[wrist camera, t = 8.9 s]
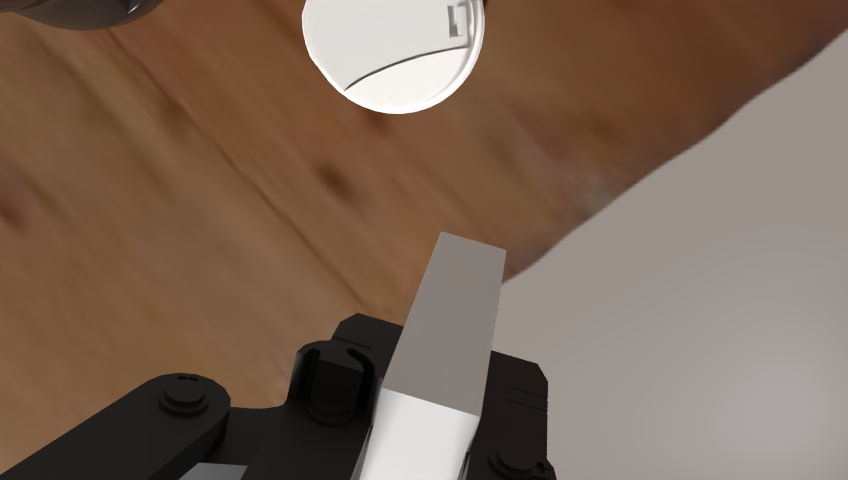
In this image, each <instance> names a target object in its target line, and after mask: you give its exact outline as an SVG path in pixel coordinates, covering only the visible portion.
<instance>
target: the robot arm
mask: <svg viewBox="0 0 848 480" xmlns="http://www.w3.org/2000/svg"><path fill="white" fill-rule="evenodd" d="M162 1H163V0H0V13H3V12H10V11H11V12H14V13H17V14H19V15H22V16H25V17H27V18H30V19H33V20H35V21H38V22H40V23H43V24H46V25H49V26H53V27H57V28H62V29H69V30H97V29H103V28H108V27H114V26H119V25H123V24H126V23H129V22H132V21H134V20H136V19H139V18H141V17H142V16H144V15H146V14H147V13H149V12H150V11H152V10H153V9H154V8H156V7H157V6H158V5H159V4H160V3H161V2H162ZM505 257H506V250H504V249H501V248H497V247H494V246H490V245H487V244H483V243H480V242H476V241H473V240H469V239H466V238H463V237H459V236H456V235H452V234H449V233H445V232H442V231H441V233H440V235H439V238H438V241H437V243H436V246H435V248H434V251H433V254H432V256H431V259H430V261H429V264H428V266H427V269H426V272H425V274H424V277H423V279H422V282H421V285H420V287H419V290H418V292H417V295H416V297H415V300H414V303H413V305H412V308H411V310H410V313H409V315H408V318H407V321H406V323H405V326H400V325H397V324H394V323H390V322H387V321H383V320H380V319H377V318H373V317H370V316H366V315H363V314H360V313H356V314H354V315H353V316H351V317H349V318H347V319H345V320H343V321H341V322H340V323H339V325H338V327H337V329H336V331H335V332H334V334H333V336H332V339H331V340H329V341H316V342H313V343H309V344H306V345H304V346H303V347H302V348H301V349H300V350H299V351H297V353H296V358H295V363H294V368H293V372H292V377H291V382H290V387H289V392H288V396H287V399H286V401H285V403H284V404H283V405H281V406H278V407H272V408H265V409H250V408H238V407H230V400H231V398H230V396H229V395H228V393H227V392H226V390H225V388H224V387H222V386H221V385H219V384H218V383H216V382H215V381H214V380H212V379H209V378H206V377H203V376H200V375H197V374H186V373H174V374H167V375H161V376H158V377H156V378H154V379H151V380H149V381H147V382H145V383H144V384H142V385H140V386H139V387H137V388H136V389H134V390H133V391H131V392H129V393H128V394H126V395H125V396H123V397H122V398H120V399H119V400H117V401H115V402H114V403H112V404H111V405H109V406H108V407H106V408H104V409H103V410H101V411H100V412H98V413H97V414H95V415H93V416H92V417H90V418H89V419H87V420H86V421H84V422H82V423H81V424H79V425H78V426H76V427H75V428H73V429H71V430H70V431H68V432H67V433H65V434H64V435H62V436H60V437H59V438H57V439H56V440H54V441H53V442H51V443H50V444H48V445H46V446H45V447H43V448H42V449H40V450H39V451H37V452H35V453H34V454H32V455H31V456H29V457H28V458H26V459H24V460H23V461H21V462H20V463H18V464H17V465H15V466H13V467H12V468H10V469H9V470H7V471H6V472H4V473H2V474H1V475H0V480H557V479H556V475H555V472H554V468H553V466H552V465H551V464H550V463H549V461H548V460H547V407H548V406H547V405H548V404H547V403H548V401H547V398H548V381H547V379H546V377H545V376H544V374H543V372H542V371H541V369H540V367H539V366H538V364H536V363H533V362H529V361H526V360H523V359H519V358H515V357H512V356H509V355H506V354H502V353H499V352H495V351H492V350H491V347H492V341H493V334H494V328H495V321H496V315H497V308H498V301H499V295H500V289H501V282H502V276H503V270H504V263H505Z"/></svg>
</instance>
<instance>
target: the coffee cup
mask: <svg viewBox="0 0 848 480" xmlns="http://www.w3.org/2000/svg"><path fill="white" fill-rule="evenodd" d="M302 26H303V34H304V38H305V43H306V46H307V49H308V52H309V55H310V57H311V59H312V60H313V61H314V63H315V64H316V65H317V66H318V68H319V69H320V70H321V72H322V73H323V74H324V76H325V77H326V78H327V80H328V81H329V82H330V83H331V84H332V85H333V86H334V87H335V88H336V89H337V90H338V91H339V92H340V93H342V94H343V95H344V96H346V97H347V98H348V99H350V100H351V101H353V102H355V103H357V104H359V105H361V106H363V107H366V108H368V109H371V110H374V111H379V112H384V113H397V114H403V113H410V112H416V111H420V110H423V109H426V108H429V107H431V106H433V105H435V104H437V103H439V102H441V101H442V100H444V99H445V98H447V97H448V96H450V95H451V94H452V93H453V92H454V91H455V90H456V89H457V88H458V87H459V86H460V85H461V84H462V83H463V82H464V80H465V79H466V78H467V76H468V75H469V74H470V72H471V70H472V68H473V66H474V64H475V63H476V61H477V58H478V55H479V52H480V49H481V46H482V41H483V35H484V0H306V3H305V7H304V10H303V13H302Z"/></svg>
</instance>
